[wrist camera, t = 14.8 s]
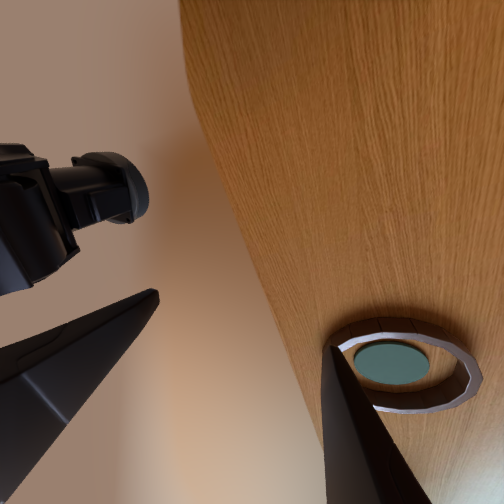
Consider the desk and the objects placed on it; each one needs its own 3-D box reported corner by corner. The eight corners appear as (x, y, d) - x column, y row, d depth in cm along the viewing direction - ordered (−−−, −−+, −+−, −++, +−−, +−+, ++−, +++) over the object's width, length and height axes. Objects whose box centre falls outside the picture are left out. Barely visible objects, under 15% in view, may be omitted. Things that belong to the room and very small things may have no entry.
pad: (344, 368, 27) (344, 371, 27) (370, 333, 23) (371, 335, 23) (404, 388, 26) (406, 391, 26) (443, 354, 22) (445, 358, 21)
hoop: (309, 372, 29) (309, 386, 28) (350, 301, 22) (353, 314, 20) (417, 409, 27) (424, 427, 26) (507, 345, 19) (526, 364, 18)
